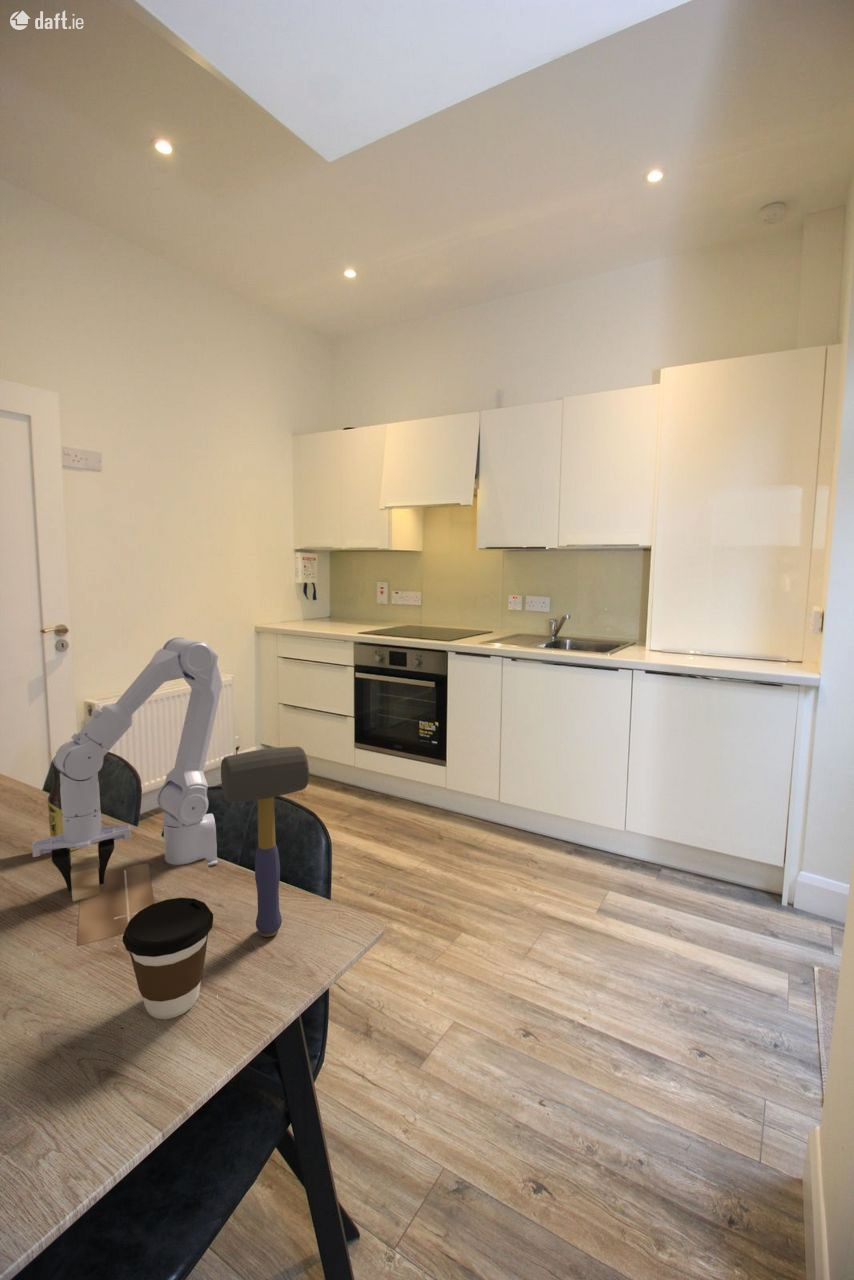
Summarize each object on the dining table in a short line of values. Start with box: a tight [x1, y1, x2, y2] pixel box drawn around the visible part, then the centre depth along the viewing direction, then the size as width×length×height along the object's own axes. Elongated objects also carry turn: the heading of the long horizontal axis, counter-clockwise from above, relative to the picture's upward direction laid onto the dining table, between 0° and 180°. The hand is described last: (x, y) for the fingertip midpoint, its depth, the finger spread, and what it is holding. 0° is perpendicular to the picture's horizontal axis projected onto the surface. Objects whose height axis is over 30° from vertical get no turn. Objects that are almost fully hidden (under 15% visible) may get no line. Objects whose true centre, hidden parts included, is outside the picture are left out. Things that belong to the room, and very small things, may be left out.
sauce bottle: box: [47, 759, 78, 853], centre depth 117 cm, size 6×6×20 cm
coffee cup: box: [122, 897, 214, 1020], centre depth 77 cm, size 11×11×12 cm
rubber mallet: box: [220, 746, 310, 938], centre depth 91 cm, size 12×8×30 cm, turn 119°
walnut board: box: [76, 862, 156, 947], centre depth 99 cm, size 11×22×2 cm, turn 29°
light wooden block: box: [71, 852, 100, 902], centre depth 102 cm, size 4×6×6 cm, turn 29°
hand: (86, 884), depth 102 cm, fingers closed on light wooden block, 4 cm apart
